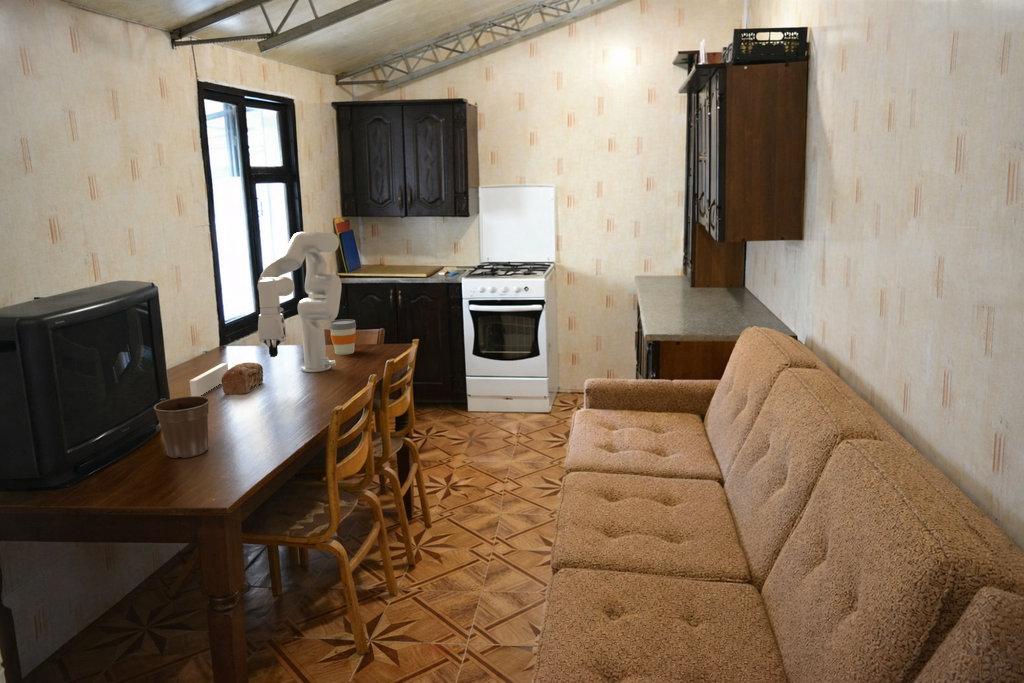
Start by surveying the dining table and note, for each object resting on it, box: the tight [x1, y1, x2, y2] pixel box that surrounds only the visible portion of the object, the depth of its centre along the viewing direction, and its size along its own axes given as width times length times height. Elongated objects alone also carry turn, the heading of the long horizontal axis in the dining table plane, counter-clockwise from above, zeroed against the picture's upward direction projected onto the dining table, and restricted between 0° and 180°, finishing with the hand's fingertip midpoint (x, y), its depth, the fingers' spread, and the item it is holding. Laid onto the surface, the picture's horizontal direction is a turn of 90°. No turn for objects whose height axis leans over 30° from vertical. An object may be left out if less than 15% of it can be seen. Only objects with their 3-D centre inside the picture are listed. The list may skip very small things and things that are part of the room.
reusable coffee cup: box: [328, 318, 357, 356], centre depth 386 cm, size 13×13×15 cm
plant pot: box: [153, 395, 211, 459], centre depth 253 cm, size 16×16×16 cm
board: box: [189, 362, 229, 397], centre depth 329 cm, size 2×28×7 cm, turn 174°
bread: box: [221, 362, 264, 395], centre depth 327 cm, size 19×11×10 cm, turn 175°
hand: (273, 356), depth 323 cm, fingers closed
